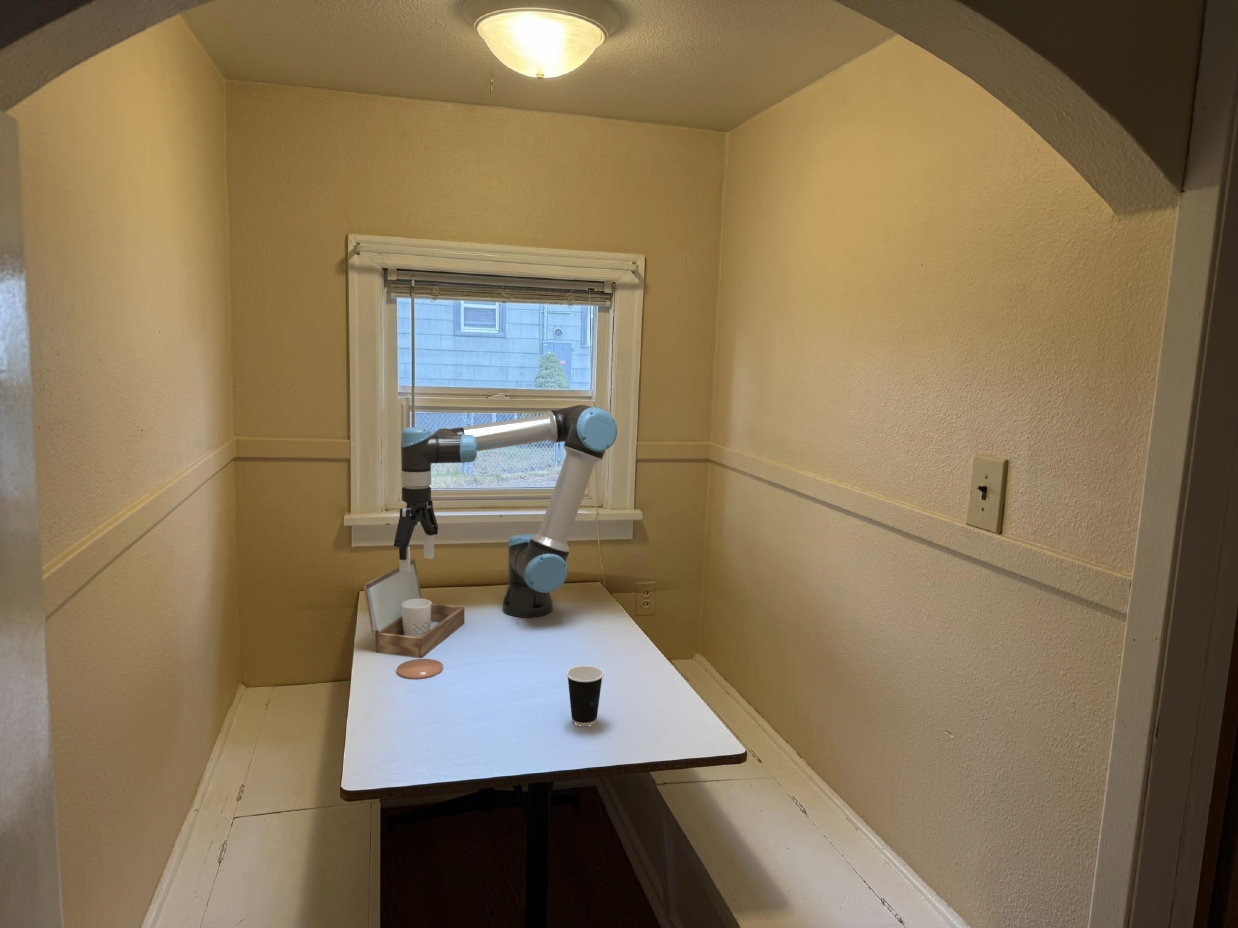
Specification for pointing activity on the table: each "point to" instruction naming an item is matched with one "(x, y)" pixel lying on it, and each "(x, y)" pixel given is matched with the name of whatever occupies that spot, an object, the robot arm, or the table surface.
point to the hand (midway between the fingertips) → (417, 564)
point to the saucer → (419, 668)
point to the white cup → (416, 617)
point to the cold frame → (399, 644)
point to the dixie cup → (584, 693)
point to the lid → (390, 595)
